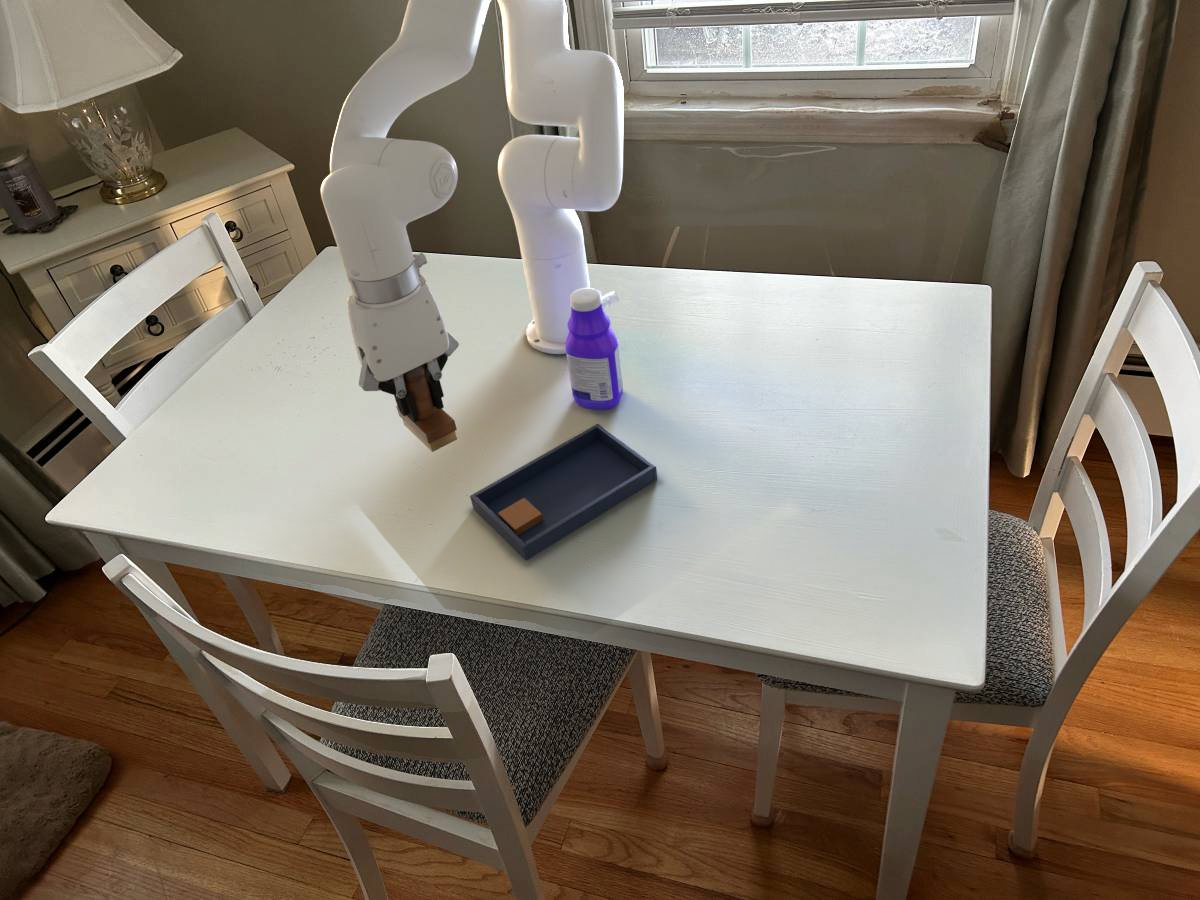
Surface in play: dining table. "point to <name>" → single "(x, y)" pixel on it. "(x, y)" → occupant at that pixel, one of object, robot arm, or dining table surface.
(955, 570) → the dining table surface
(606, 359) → the bottle
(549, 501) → the tray
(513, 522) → the brown square tile
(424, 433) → the wooden stamp
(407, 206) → the robot arm
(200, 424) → the dining table surface
